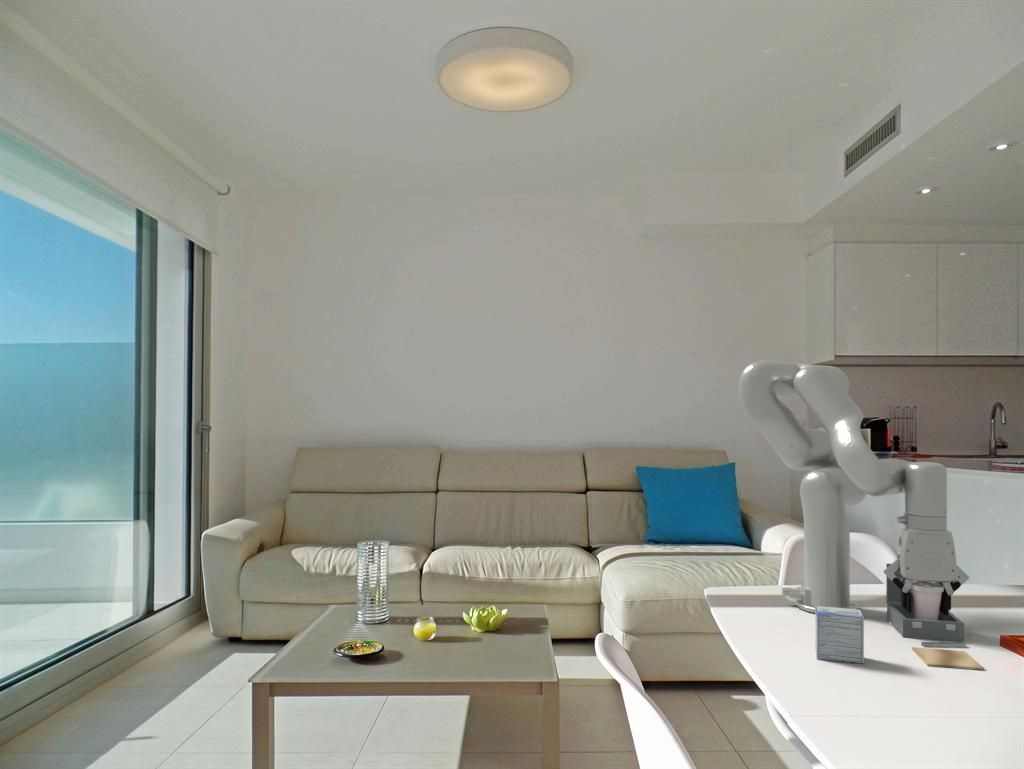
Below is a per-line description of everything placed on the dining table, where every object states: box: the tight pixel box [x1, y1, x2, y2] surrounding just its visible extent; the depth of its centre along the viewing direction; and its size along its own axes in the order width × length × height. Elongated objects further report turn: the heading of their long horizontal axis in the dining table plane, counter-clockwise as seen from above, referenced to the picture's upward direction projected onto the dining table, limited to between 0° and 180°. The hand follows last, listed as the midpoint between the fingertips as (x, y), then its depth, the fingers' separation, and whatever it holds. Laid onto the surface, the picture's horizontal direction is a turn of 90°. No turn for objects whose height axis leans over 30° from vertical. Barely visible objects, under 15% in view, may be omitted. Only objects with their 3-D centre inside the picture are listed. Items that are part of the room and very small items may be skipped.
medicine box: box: [814, 606, 865, 665], centre depth 137 cm, size 8×4×9 cm, turn 71°
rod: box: [920, 641, 967, 649], centre depth 144 cm, size 8×1×1 cm, turn 89°
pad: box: [911, 646, 985, 671], centre depth 137 cm, size 9×9×1 cm
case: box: [885, 563, 965, 642], centre depth 154 cm, size 11×13×12 cm
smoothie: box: [910, 581, 944, 620], centre depth 153 cm, size 6×6×14 cm
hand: (925, 611), depth 153 cm, fingers closed on smoothie, 6 cm apart
